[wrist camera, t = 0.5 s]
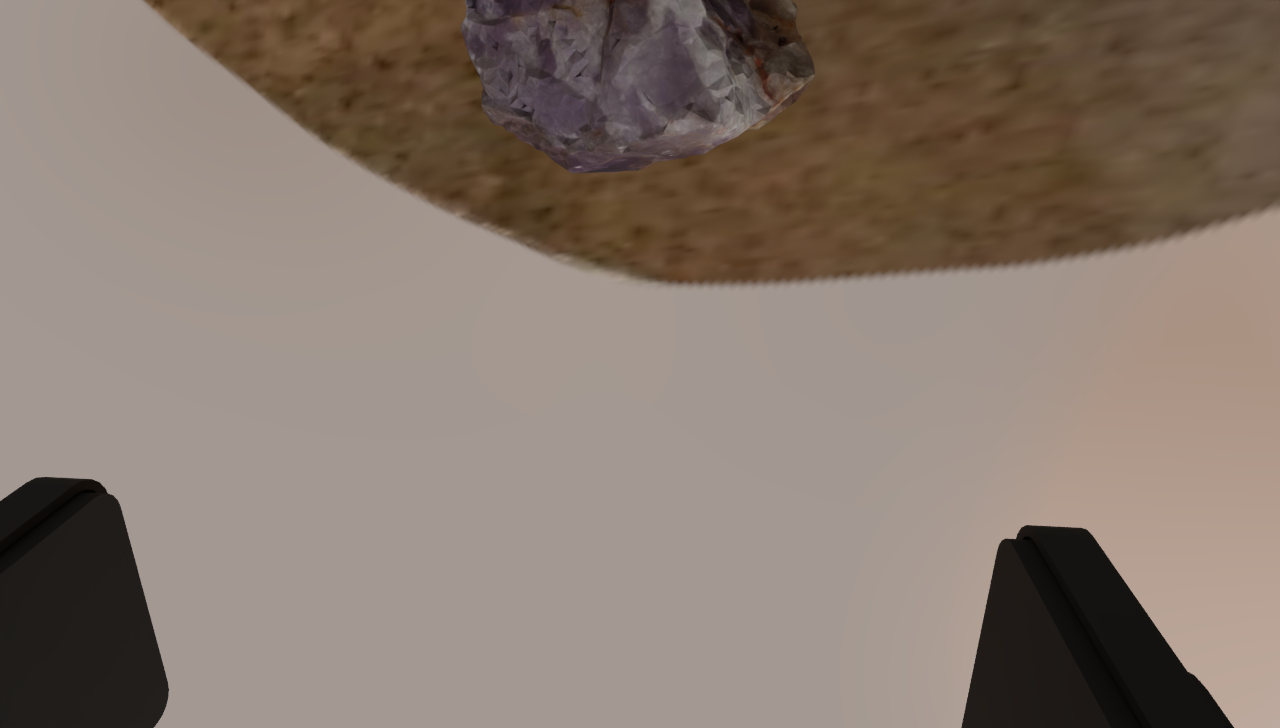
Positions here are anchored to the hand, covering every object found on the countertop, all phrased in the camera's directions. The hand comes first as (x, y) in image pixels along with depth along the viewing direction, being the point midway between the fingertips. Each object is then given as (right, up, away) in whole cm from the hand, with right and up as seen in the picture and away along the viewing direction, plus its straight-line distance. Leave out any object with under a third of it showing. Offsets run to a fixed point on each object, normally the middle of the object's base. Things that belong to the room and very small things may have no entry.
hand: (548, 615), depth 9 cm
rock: (+1, +16, +24) cm, 29 cm away
